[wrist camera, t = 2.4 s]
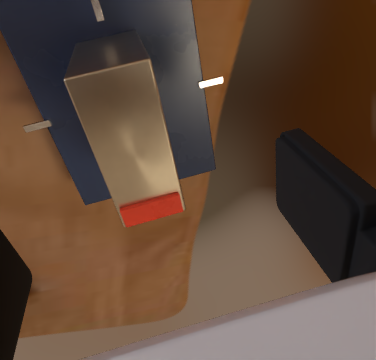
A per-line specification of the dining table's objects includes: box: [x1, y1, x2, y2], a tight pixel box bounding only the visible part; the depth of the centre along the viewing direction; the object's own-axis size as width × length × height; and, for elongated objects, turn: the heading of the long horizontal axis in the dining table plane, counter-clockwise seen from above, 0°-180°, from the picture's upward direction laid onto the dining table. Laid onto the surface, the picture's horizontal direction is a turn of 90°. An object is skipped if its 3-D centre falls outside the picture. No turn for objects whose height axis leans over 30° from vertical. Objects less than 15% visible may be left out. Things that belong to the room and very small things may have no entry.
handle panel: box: [0, 0, 223, 205], centre depth 19 cm, size 12×11×3 cm
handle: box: [64, 30, 186, 227], centre depth 15 cm, size 7×3×6 cm, turn 10°
